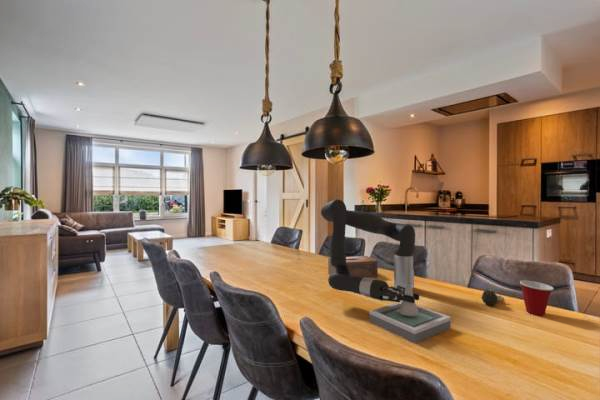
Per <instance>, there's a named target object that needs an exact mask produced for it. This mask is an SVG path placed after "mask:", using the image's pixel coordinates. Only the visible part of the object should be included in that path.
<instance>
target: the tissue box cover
mask: <svg viewBox="0 0 600 400" xmlns="http://www.w3.org/2000/svg"><path fill="white" fill-rule="evenodd" d="M327 259H328V260H327V261H328V262H327V264H328V265H327V266H328V268H327V269H328V270H327V271H328V275H329V276H330V275H331V274H332V273H336V269H335V267H333V266H332V265H331V262H330V257H328V258H327ZM378 261H379V260H378V259H376V258H373V257H370V256H367V255H358V256H356V255H355V256H346V263H347V266H348V269H349V272H350V276H359V277H364V278H378V276H379V275H378V273H379V271H378V269H379V268H378V266H379V263H378Z"/></svg>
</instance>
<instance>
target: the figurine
mask: <svg viewBox="0 0 600 400" xmlns="http://www.w3.org/2000/svg"><path fill="white" fill-rule="evenodd" d="M481 300H482V302H483V303H484V304H485V305H487V306H489V307H490V306H494V305H496V304H497V303H498V302H503V301H504V300H505V297H504V296H501V295H498V294H496V292H495V291H493V290H492V289H489V290H488V289H486V290H484V291H483V292H482V295H481Z"/></svg>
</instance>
